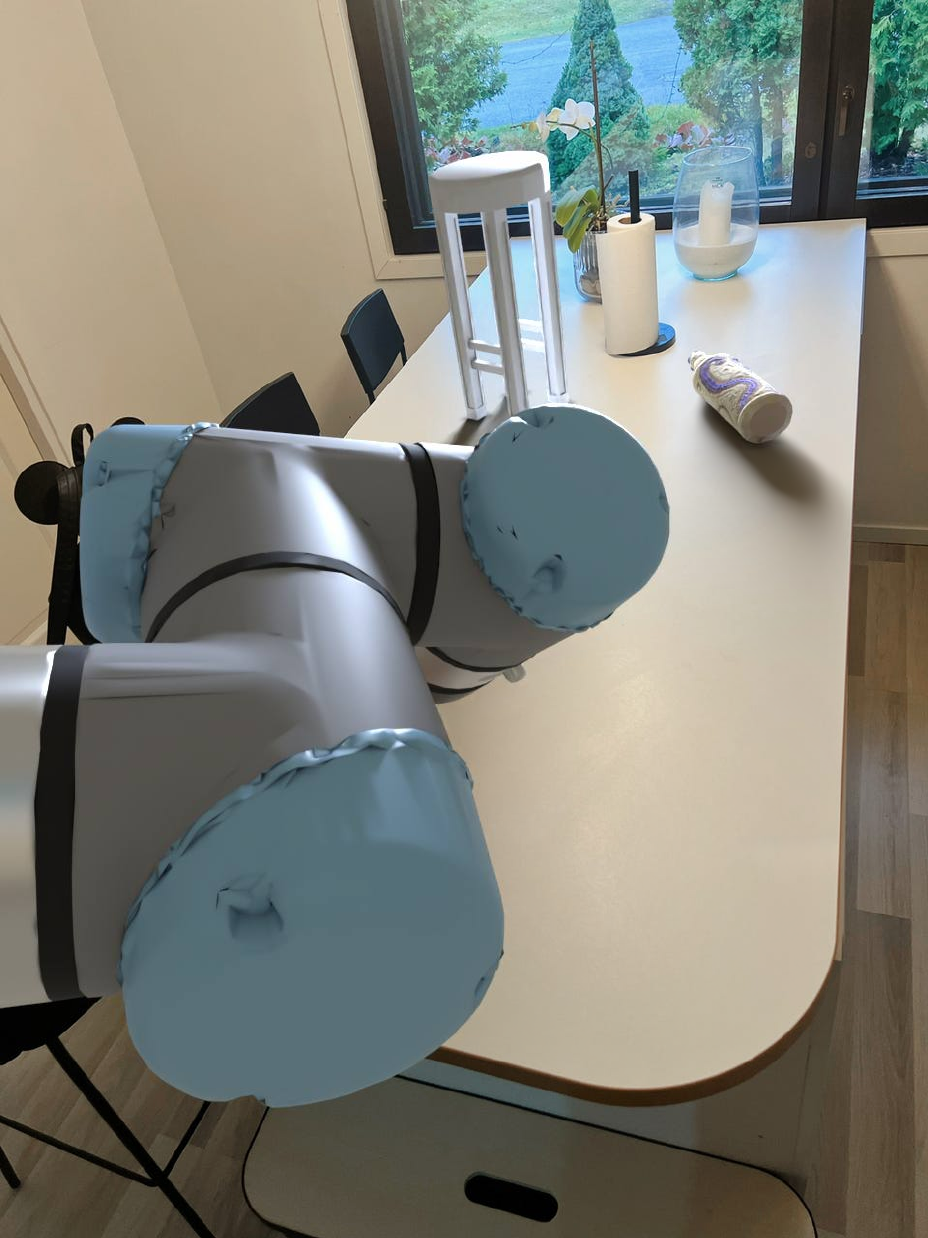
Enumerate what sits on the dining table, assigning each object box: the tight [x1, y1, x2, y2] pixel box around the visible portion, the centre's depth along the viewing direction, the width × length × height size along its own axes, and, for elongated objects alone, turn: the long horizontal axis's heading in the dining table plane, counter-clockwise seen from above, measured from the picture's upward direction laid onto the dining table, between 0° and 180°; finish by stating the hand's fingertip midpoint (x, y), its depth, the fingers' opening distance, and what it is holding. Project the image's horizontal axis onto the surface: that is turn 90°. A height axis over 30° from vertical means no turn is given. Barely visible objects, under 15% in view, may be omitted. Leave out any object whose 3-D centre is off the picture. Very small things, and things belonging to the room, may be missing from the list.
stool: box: [427, 150, 570, 421], centre depth 126 cm, size 16×16×35 cm
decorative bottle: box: [687, 350, 794, 444], centre depth 124 cm, size 26×8×7 cm, turn 10°
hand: (356, 699), depth 63 cm, fingers closed on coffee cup, 8 cm apart
